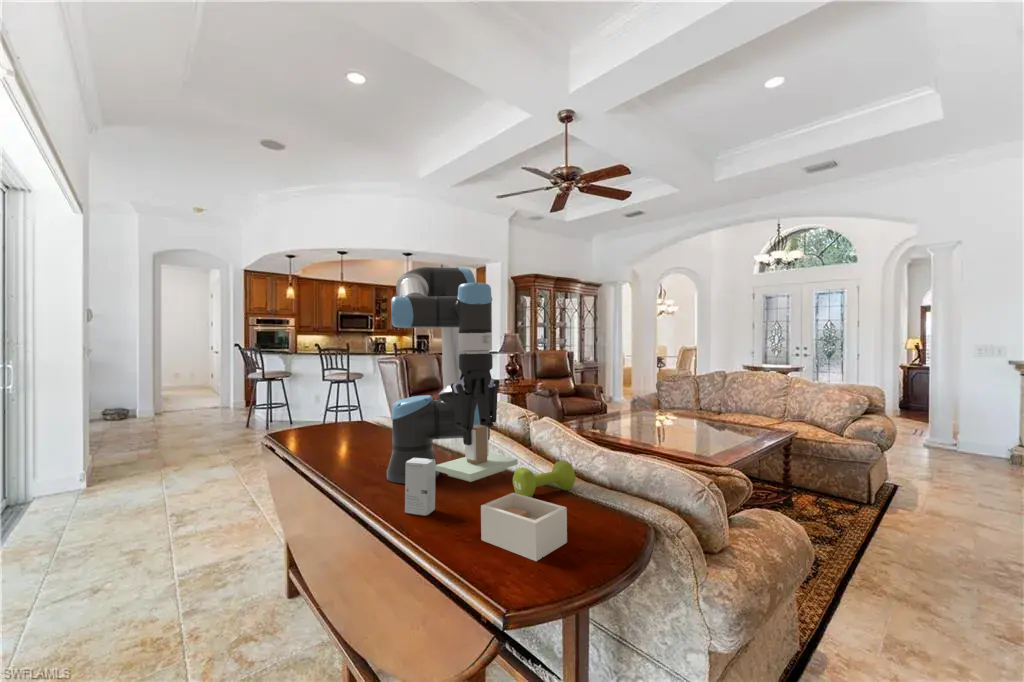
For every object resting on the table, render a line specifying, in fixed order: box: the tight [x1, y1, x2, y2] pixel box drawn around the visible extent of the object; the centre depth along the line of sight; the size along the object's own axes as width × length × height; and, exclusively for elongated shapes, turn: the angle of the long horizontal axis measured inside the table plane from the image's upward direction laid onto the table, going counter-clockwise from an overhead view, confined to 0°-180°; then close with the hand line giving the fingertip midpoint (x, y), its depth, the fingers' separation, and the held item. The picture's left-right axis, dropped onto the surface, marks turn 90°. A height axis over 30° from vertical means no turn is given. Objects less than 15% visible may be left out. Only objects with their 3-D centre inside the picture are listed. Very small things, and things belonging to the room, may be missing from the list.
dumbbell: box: [512, 460, 576, 498], centre depth 122 cm, size 16×8×7 cm, turn 119°
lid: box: [435, 425, 519, 483], centre depth 104 cm, size 15×11×10 cm
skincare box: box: [404, 458, 437, 517], centre depth 110 cm, size 6×4×12 cm
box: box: [480, 492, 568, 562], centre depth 93 cm, size 14×10×7 cm
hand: (477, 457), depth 104 cm, fingers closed on lid, 3 cm apart
